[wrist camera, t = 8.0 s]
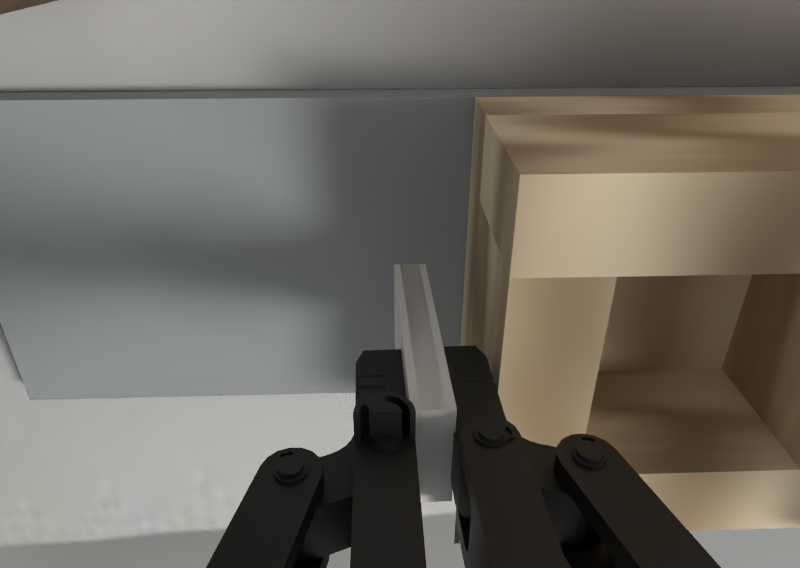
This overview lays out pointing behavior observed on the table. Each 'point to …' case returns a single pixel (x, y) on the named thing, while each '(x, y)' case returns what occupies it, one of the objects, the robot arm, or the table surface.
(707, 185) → the block
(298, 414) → the table surface
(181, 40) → the table surface
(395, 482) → the robot arm
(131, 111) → the grey corner bracket
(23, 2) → the dowel
